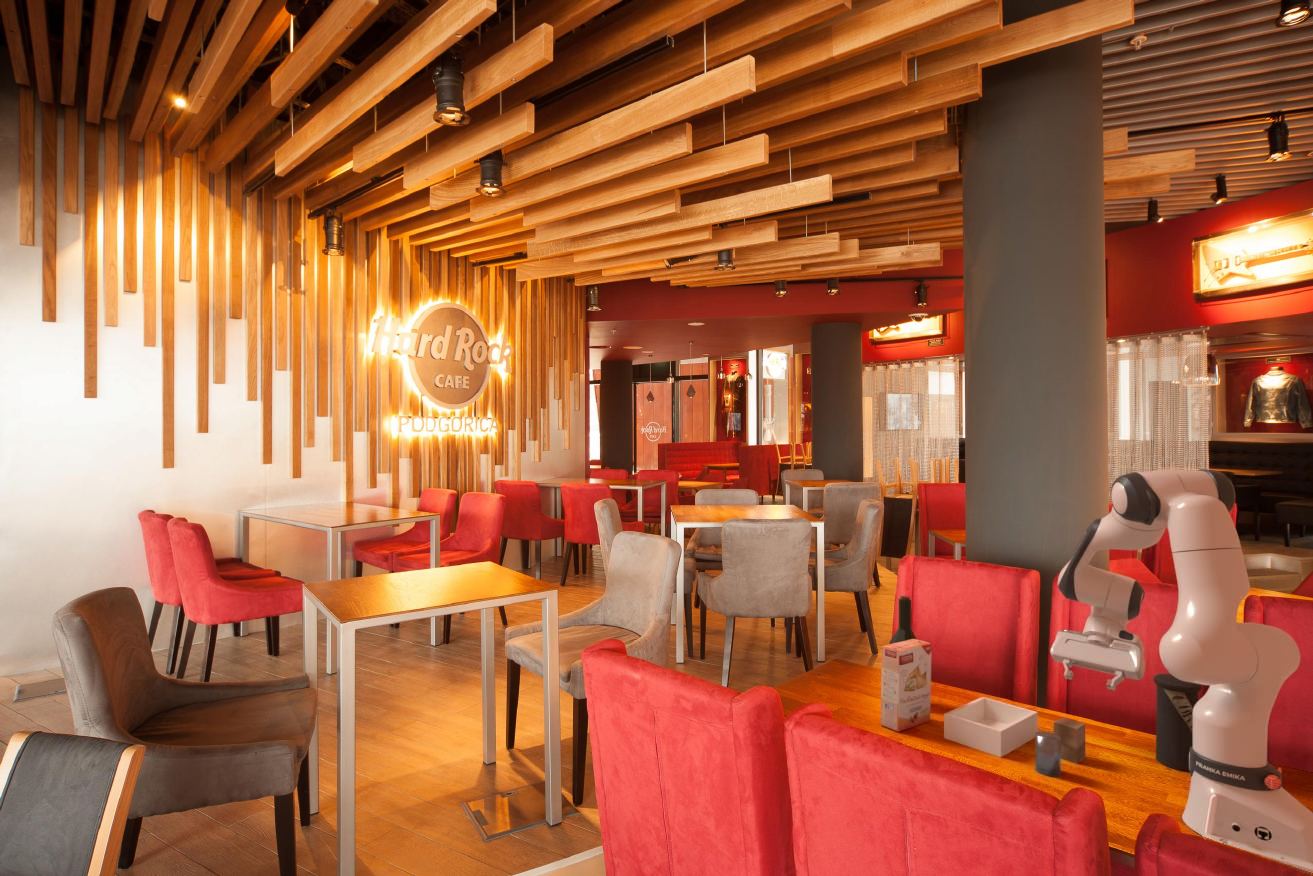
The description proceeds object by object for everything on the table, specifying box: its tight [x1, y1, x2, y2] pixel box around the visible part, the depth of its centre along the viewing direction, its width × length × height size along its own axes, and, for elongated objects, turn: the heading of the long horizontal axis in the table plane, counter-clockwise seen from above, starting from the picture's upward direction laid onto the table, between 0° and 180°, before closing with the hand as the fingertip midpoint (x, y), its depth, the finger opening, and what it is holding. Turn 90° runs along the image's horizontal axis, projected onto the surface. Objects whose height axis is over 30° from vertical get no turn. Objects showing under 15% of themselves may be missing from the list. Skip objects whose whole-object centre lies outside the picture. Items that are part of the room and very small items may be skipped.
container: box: [1152, 673, 1203, 772], centre depth 163 cm, size 9×9×20 cm
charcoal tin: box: [1034, 730, 1062, 778], centre depth 158 cm, size 5×5×8 cm
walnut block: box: [1053, 717, 1086, 765], centre depth 166 cm, size 5×5×8 cm
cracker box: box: [880, 638, 932, 733], centre depth 186 cm, size 14×6×21 cm, turn 125°
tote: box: [943, 696, 1039, 758], centre depth 177 cm, size 14×20×6 cm
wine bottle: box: [888, 595, 918, 645], centre depth 202 cm, size 8×8×30 cm
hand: (1088, 683), depth 174 cm, fingers open, 8 cm apart
